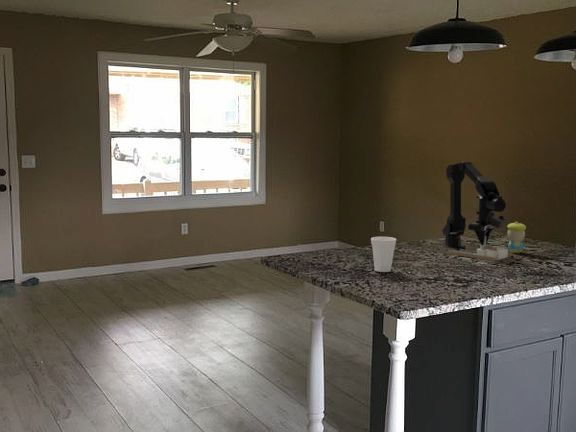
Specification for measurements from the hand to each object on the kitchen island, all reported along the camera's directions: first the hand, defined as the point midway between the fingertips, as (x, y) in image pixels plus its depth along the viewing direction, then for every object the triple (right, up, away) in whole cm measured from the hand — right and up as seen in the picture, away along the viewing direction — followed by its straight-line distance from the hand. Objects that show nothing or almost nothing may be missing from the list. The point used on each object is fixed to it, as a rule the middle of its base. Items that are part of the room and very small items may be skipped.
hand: (483, 244), depth 277 cm
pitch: (-1, -6, +2) cm, 6 cm away
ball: (+3, -4, -2) cm, 5 cm away
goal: (+5, -6, -4) cm, 8 cm away
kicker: (0, -5, +1) cm, 5 cm away
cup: (-49, -9, -29) cm, 58 cm away
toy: (+17, -5, +9) cm, 20 cm away
